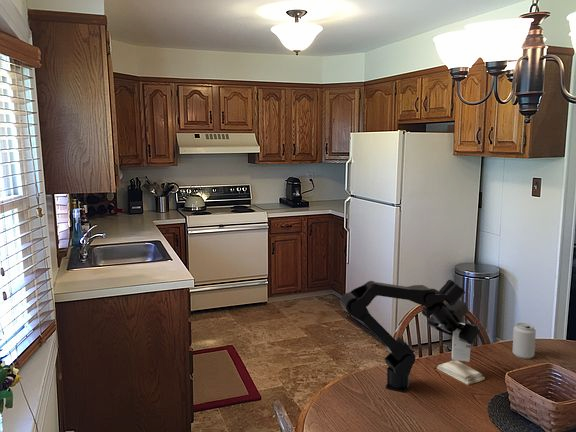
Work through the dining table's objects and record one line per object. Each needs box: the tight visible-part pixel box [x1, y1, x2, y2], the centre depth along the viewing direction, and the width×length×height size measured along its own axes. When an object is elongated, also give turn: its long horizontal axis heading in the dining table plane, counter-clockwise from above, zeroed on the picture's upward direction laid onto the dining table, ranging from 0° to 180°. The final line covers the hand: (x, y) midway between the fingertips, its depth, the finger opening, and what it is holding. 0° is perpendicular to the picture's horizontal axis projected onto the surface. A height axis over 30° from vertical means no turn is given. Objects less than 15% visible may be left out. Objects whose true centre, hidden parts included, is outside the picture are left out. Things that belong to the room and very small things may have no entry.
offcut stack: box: [436, 360, 486, 386], centre depth 169 cm, size 8×14×2 cm, turn 27°
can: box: [512, 322, 537, 360], centre depth 182 cm, size 8×8×12 cm
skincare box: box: [451, 322, 472, 362], centre depth 167 cm, size 6×4×12 cm
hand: (464, 339), depth 168 cm, fingers closed on skincare box, 7 cm apart
